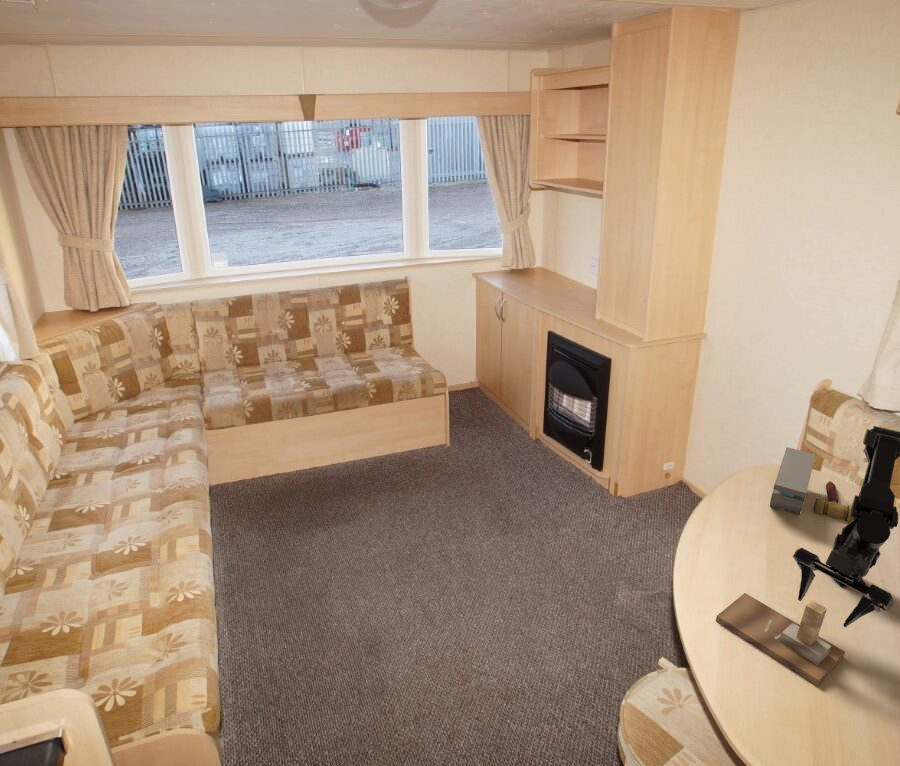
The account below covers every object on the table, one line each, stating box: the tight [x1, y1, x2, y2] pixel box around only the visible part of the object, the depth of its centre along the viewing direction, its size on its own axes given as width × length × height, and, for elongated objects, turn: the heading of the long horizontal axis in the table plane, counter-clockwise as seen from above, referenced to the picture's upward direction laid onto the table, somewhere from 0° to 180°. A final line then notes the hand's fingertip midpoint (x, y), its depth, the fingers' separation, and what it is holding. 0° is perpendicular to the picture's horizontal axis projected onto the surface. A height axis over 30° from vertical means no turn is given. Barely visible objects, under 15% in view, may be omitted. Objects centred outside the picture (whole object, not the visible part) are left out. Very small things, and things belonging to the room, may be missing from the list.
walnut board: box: [715, 592, 846, 687], centre depth 139 cm, size 22×12×2 cm, turn 39°
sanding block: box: [780, 600, 831, 665], centre depth 133 cm, size 8×4×11 cm, turn 38°
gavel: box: [812, 480, 853, 523], centre depth 188 cm, size 21×5×10 cm
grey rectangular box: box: [769, 446, 817, 516], centre depth 186 cm, size 25×8×11 cm, turn 147°
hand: (821, 613), depth 135 cm, fingers open, 9 cm apart
